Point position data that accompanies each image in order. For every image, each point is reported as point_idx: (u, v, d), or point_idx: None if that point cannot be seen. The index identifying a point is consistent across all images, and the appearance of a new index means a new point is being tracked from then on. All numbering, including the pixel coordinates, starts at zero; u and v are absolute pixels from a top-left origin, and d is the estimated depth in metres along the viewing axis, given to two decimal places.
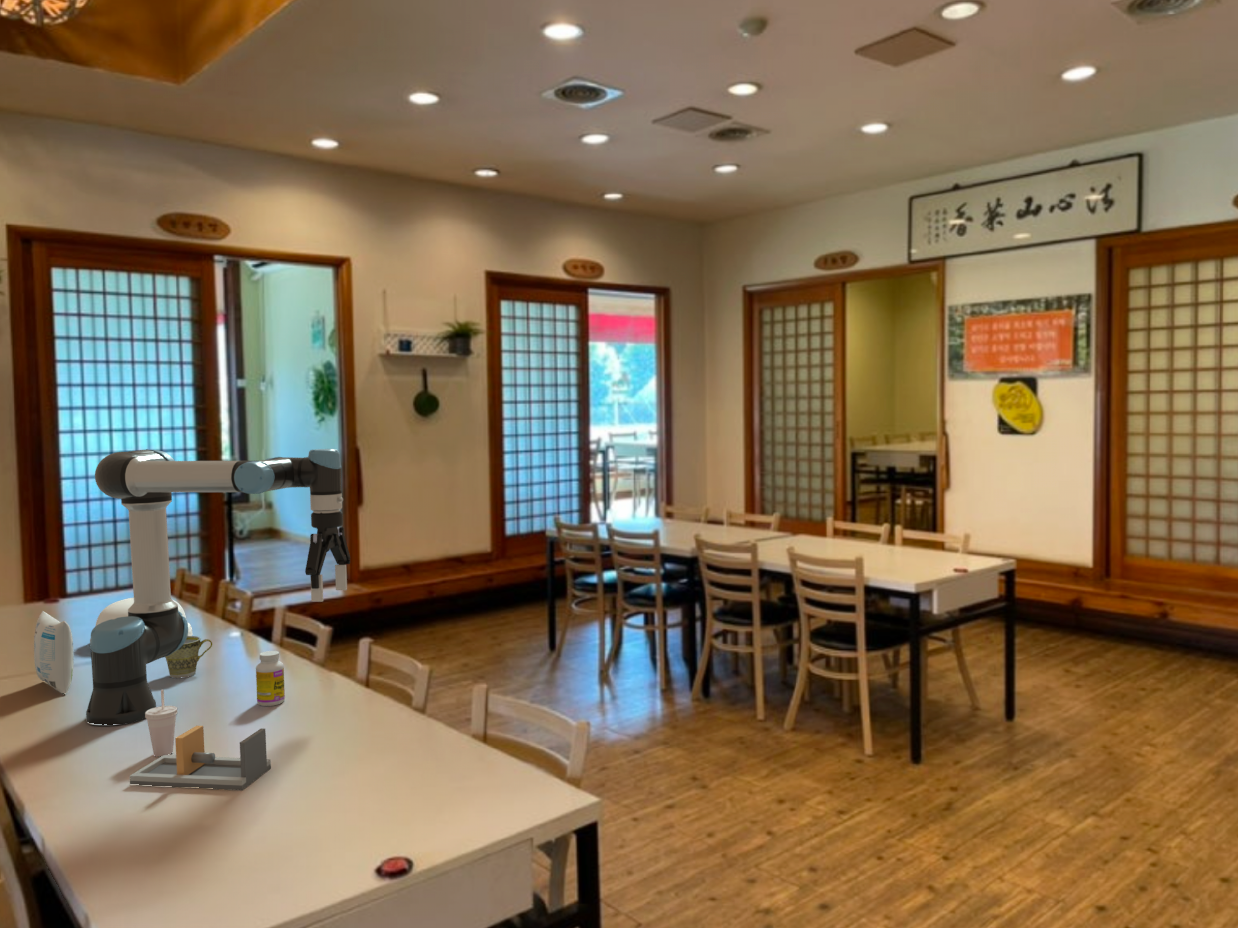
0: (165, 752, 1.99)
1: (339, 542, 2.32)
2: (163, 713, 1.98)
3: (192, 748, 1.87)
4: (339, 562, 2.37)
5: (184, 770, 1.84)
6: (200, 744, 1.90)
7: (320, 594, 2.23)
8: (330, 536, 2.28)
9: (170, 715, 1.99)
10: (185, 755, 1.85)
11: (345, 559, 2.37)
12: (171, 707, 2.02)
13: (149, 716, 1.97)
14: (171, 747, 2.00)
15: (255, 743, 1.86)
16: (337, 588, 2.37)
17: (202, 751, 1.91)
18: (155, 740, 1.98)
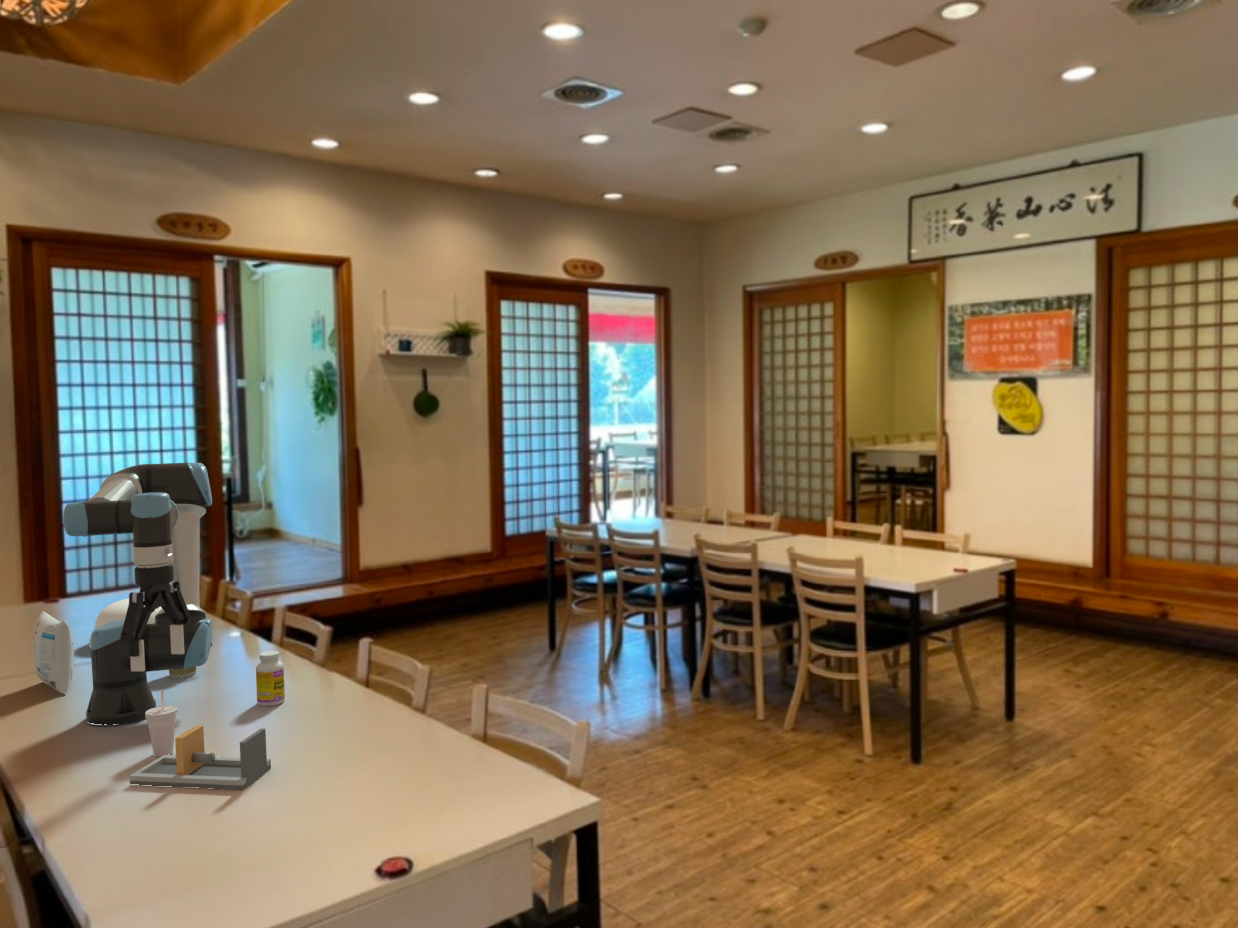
0: (165, 752, 1.99)
1: (171, 600, 2.01)
2: (163, 713, 1.98)
3: (192, 748, 1.87)
4: (175, 622, 2.06)
5: (184, 770, 1.84)
6: (200, 744, 1.90)
7: (141, 663, 1.92)
8: (156, 594, 1.97)
9: (170, 715, 1.99)
10: (185, 755, 1.85)
11: (182, 618, 2.06)
12: (171, 707, 2.02)
13: (149, 716, 1.97)
14: (171, 747, 2.00)
15: (255, 743, 1.86)
16: (173, 652, 2.06)
17: (202, 751, 1.91)
18: (155, 740, 1.98)
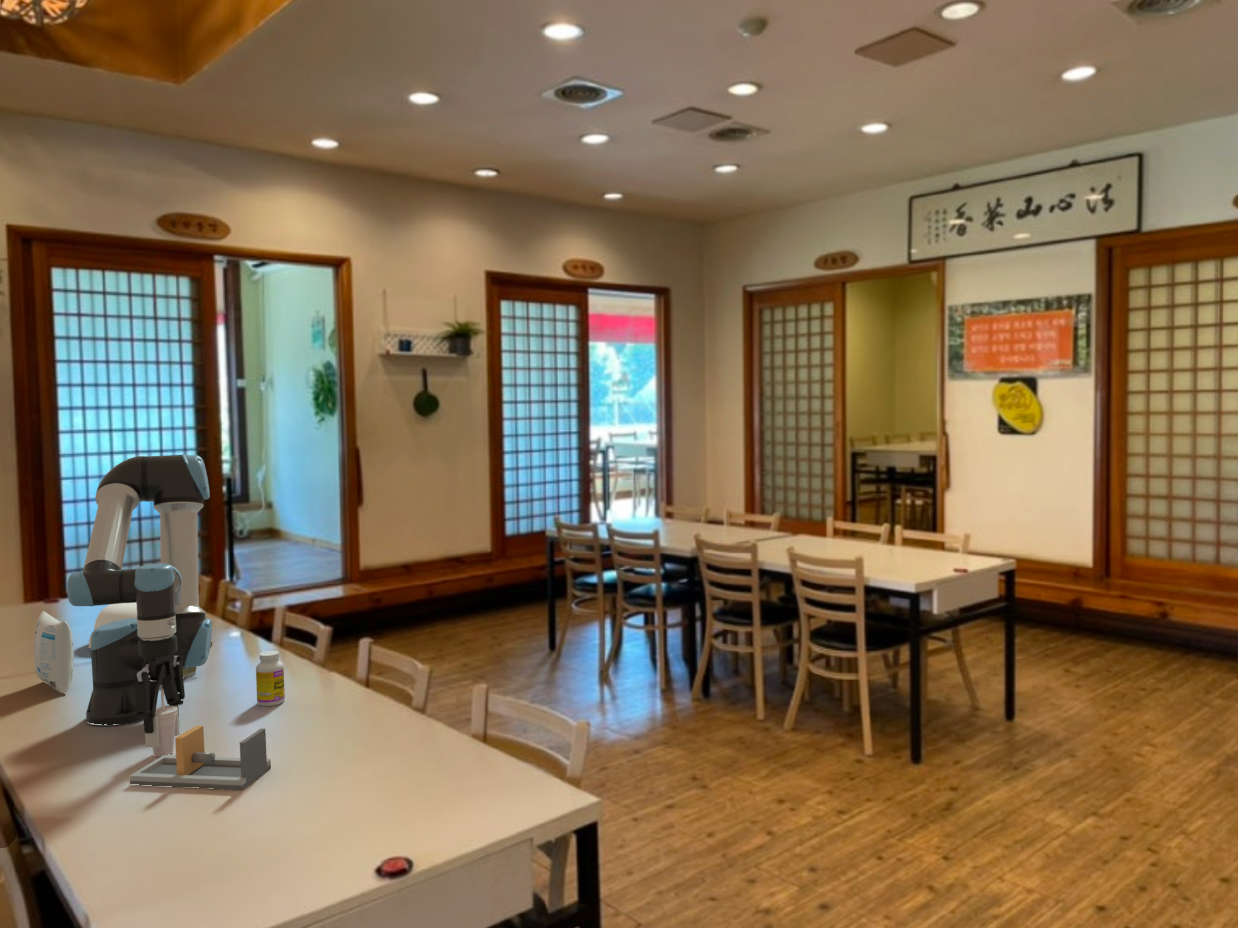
0: (165, 752, 1.99)
1: (172, 673, 2.01)
2: (163, 713, 1.98)
3: (192, 748, 1.87)
4: (170, 703, 2.04)
5: (184, 770, 1.84)
6: (200, 744, 1.90)
7: (155, 739, 1.97)
8: (159, 667, 1.98)
9: (170, 715, 1.99)
10: (185, 755, 1.85)
11: (177, 698, 2.04)
12: (171, 707, 2.02)
13: None
14: (171, 747, 2.00)
15: (255, 743, 1.86)
16: None
17: (202, 751, 1.91)
18: None
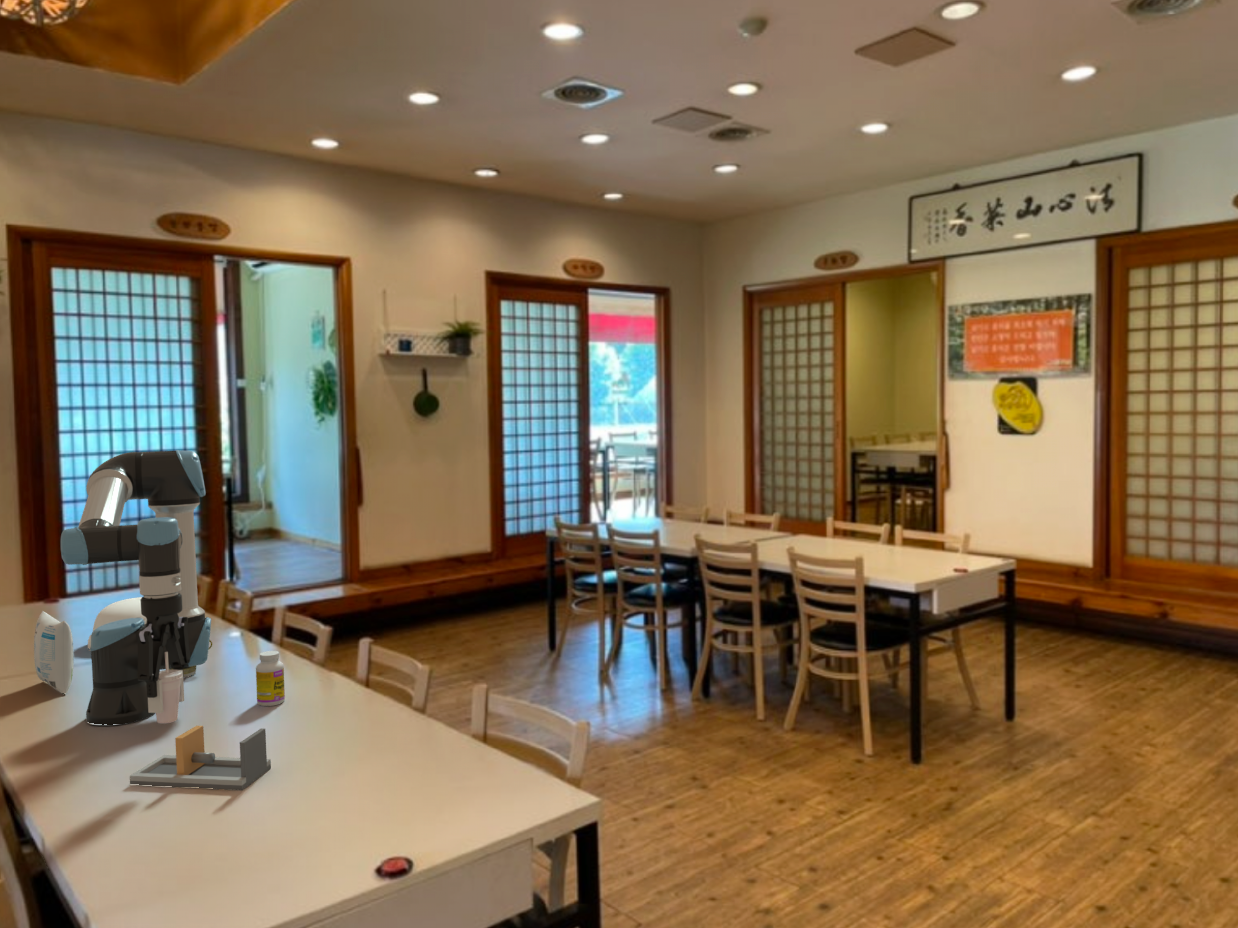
0: (169, 718, 1.86)
1: (177, 634, 1.89)
2: (167, 676, 1.85)
3: (192, 748, 1.87)
4: (174, 667, 1.91)
5: (184, 770, 1.84)
6: (200, 744, 1.90)
7: (159, 704, 1.84)
8: (163, 627, 1.85)
9: (175, 678, 1.86)
10: (185, 755, 1.85)
11: (182, 662, 1.91)
12: (176, 671, 1.89)
13: None
14: (176, 713, 1.87)
15: (255, 743, 1.86)
16: None
17: (202, 751, 1.91)
18: None
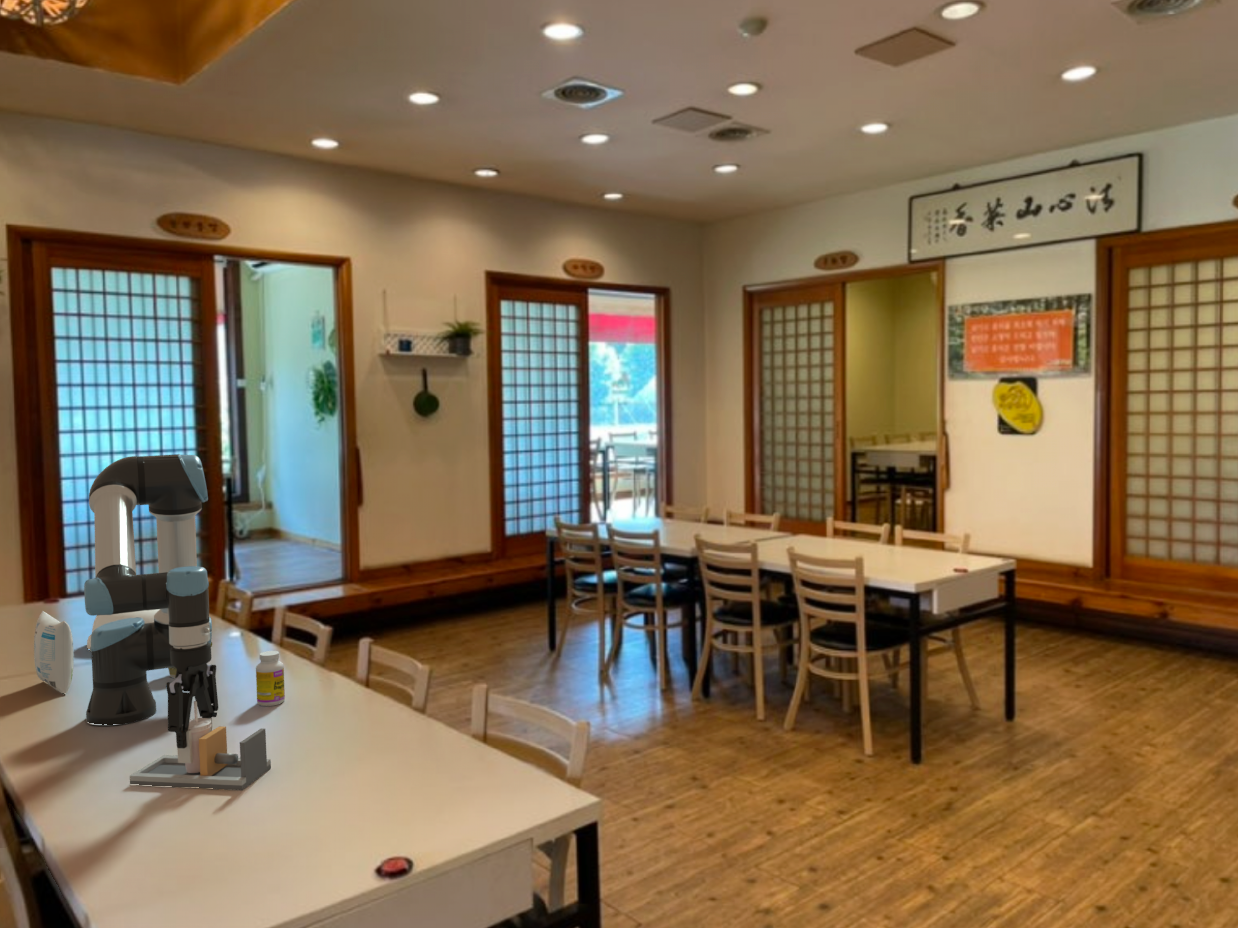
0: (198, 768, 1.86)
1: (206, 683, 1.88)
2: (196, 726, 1.85)
3: (215, 749, 1.86)
4: (203, 715, 1.91)
5: (208, 771, 1.84)
6: (223, 745, 1.89)
7: (188, 754, 1.83)
8: (193, 677, 1.84)
9: (204, 728, 1.86)
10: (208, 756, 1.84)
11: (211, 710, 1.91)
12: (204, 719, 1.89)
13: None
14: None
15: (255, 743, 1.86)
16: None
17: (225, 752, 1.90)
18: None
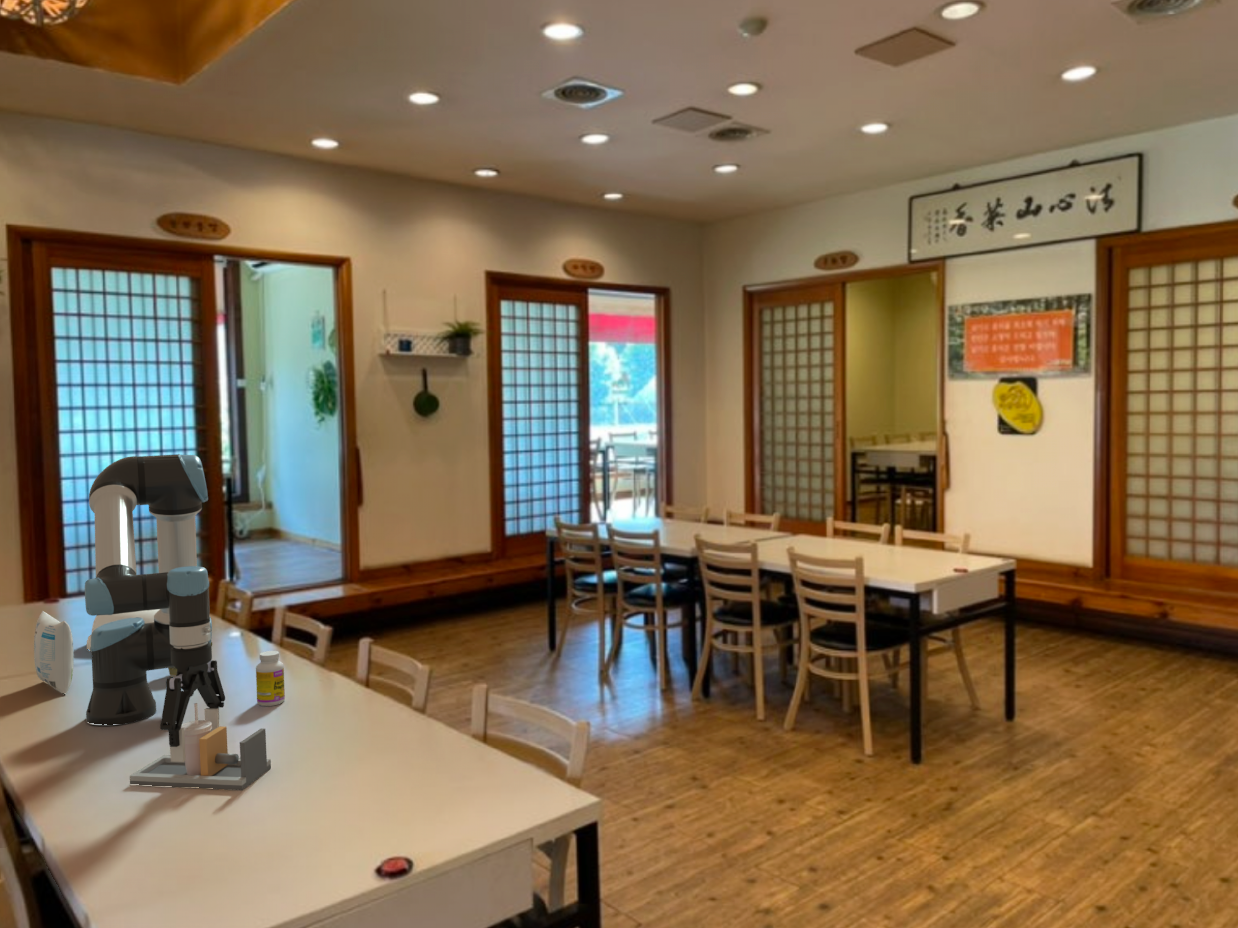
0: (199, 770, 1.86)
1: (208, 681, 1.89)
2: (197, 728, 1.85)
3: (216, 749, 1.86)
4: (210, 705, 1.93)
5: (208, 771, 1.84)
6: (223, 745, 1.89)
7: (181, 753, 1.81)
8: (193, 676, 1.85)
9: (204, 731, 1.86)
10: (209, 756, 1.84)
11: (217, 701, 1.93)
12: (205, 722, 1.89)
13: None
14: None
15: (255, 743, 1.86)
16: None
17: (225, 752, 1.90)
18: (189, 758, 1.85)
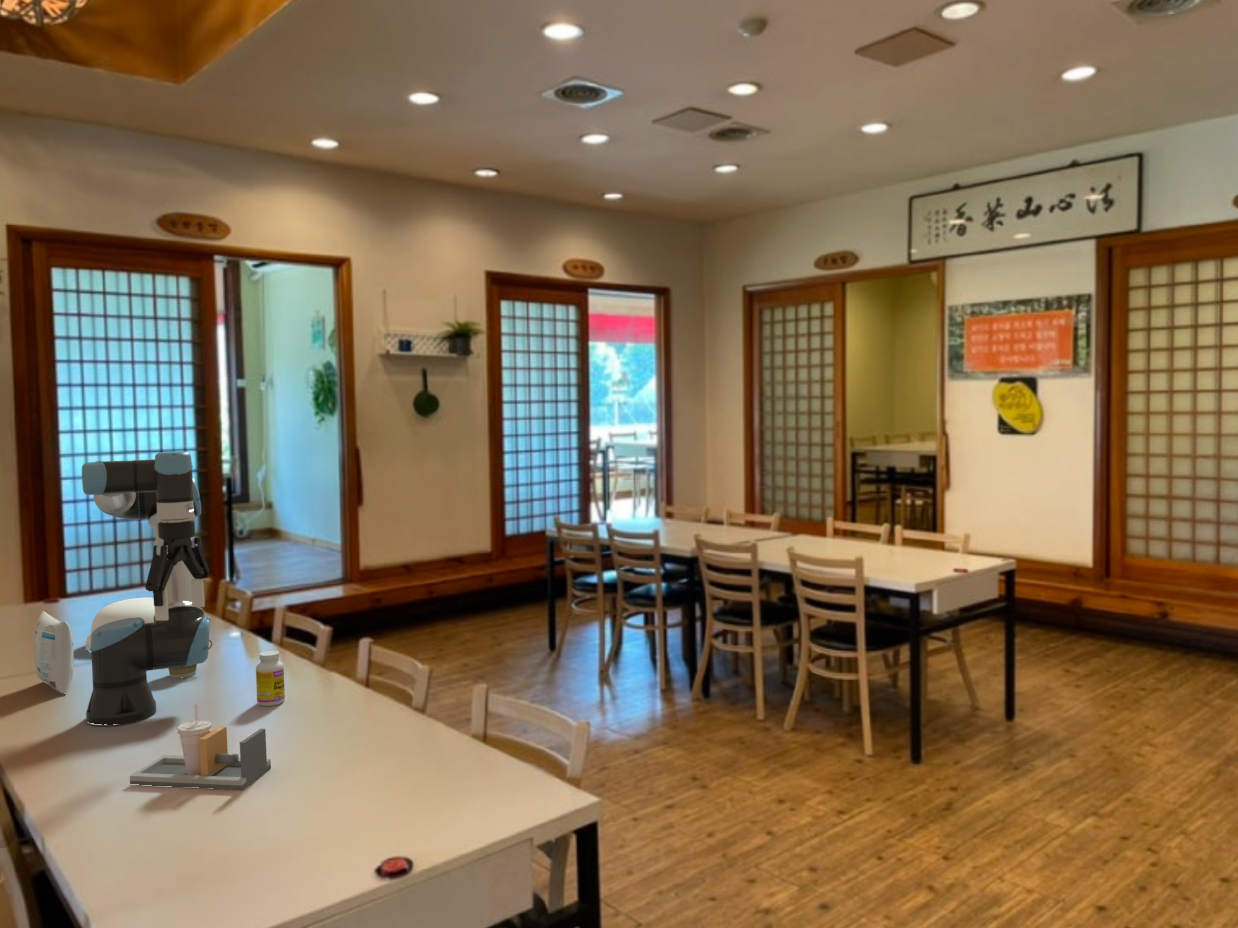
0: (199, 770, 1.86)
1: (192, 554, 2.11)
2: (197, 728, 1.85)
3: (216, 749, 1.86)
4: (196, 576, 2.16)
5: (208, 771, 1.84)
6: (223, 745, 1.89)
7: (164, 612, 2.02)
8: (178, 547, 2.06)
9: (204, 731, 1.86)
10: (209, 756, 1.84)
11: (202, 573, 2.15)
12: (205, 722, 1.89)
13: (182, 732, 1.84)
14: None
15: (255, 743, 1.86)
16: (193, 604, 2.15)
17: (225, 752, 1.90)
18: (189, 758, 1.85)
